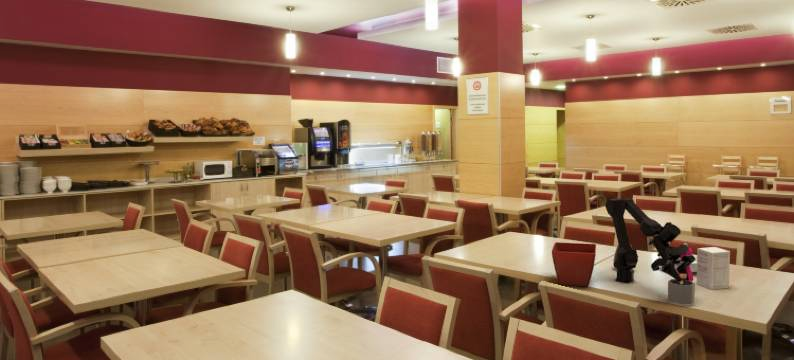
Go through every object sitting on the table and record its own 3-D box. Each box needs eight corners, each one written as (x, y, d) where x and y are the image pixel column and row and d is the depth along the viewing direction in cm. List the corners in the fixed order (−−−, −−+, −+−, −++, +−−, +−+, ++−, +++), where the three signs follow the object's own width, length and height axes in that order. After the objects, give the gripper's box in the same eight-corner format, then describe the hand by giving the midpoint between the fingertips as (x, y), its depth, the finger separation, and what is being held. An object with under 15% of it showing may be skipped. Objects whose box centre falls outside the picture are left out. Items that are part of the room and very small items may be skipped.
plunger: (668, 292, 219) (669, 273, 218) (674, 288, 224) (674, 270, 223) (688, 296, 214) (688, 277, 213) (693, 292, 219) (693, 273, 218)
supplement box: (714, 282, 245) (715, 246, 243) (729, 288, 235) (731, 251, 234) (695, 283, 243) (696, 247, 241) (710, 289, 234) (712, 252, 232)
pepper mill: (695, 289, 234) (697, 245, 233) (678, 289, 235) (679, 244, 233) (689, 285, 241) (690, 241, 240) (672, 284, 242) (673, 241, 241)
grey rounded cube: (664, 302, 219) (664, 282, 218) (671, 296, 226) (672, 277, 225) (690, 307, 212) (691, 287, 211) (697, 301, 219) (698, 281, 218)
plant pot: (551, 286, 245) (551, 250, 243) (554, 275, 263) (555, 241, 261) (595, 290, 238) (595, 253, 236) (596, 278, 256) (596, 244, 254)
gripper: (656, 239, 217) (677, 272, 208) (692, 235, 223) (714, 268, 213) (642, 254, 226) (661, 286, 216) (677, 250, 231) (697, 281, 222)
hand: (684, 280), depth 217 cm, fingers closed on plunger, 4 cm apart
